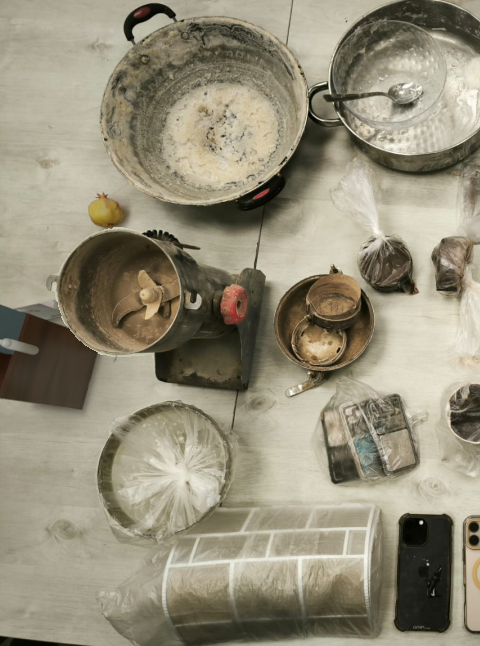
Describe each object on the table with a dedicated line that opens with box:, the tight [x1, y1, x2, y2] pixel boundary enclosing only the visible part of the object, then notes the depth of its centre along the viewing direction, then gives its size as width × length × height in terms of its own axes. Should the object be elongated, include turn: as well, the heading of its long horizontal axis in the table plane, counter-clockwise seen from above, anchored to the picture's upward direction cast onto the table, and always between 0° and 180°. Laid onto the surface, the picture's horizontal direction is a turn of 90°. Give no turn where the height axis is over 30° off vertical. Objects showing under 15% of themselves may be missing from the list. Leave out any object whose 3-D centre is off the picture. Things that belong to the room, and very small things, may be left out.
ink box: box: [14, 299, 63, 320], centre depth 119 cm, size 2×11×10 cm, turn 104°
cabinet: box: [0, 312, 99, 410], centre depth 105 cm, size 10×16×34 cm, turn 173°
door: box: [0, 304, 39, 355], centre depth 95 cm, size 6×8×9 cm
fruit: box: [87, 191, 124, 230], centre depth 126 cm, size 7×7×10 cm
